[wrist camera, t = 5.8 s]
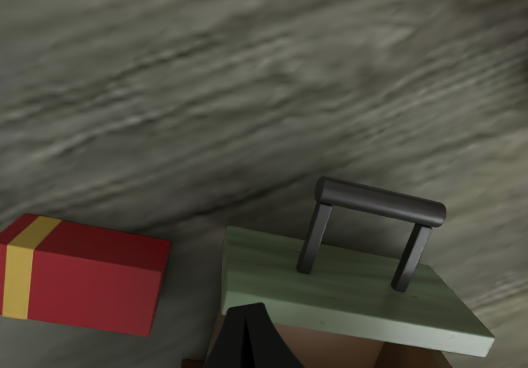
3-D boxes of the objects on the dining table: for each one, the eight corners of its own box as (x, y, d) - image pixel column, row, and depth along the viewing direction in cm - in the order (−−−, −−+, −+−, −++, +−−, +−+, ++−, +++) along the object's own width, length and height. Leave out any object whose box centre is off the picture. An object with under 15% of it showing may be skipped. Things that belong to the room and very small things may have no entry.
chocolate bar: (18, 275, 22) (-17, 314, 19) (24, 212, 21) (-13, 241, 18) (159, 298, 24) (148, 338, 21) (171, 240, 23) (162, 272, 19)
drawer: (248, 141, 20) (257, 179, 14) (461, 191, 22) (546, 244, 16) (183, 397, 25) (169, 504, 19) (361, 419, 27) (398, 523, 21)
